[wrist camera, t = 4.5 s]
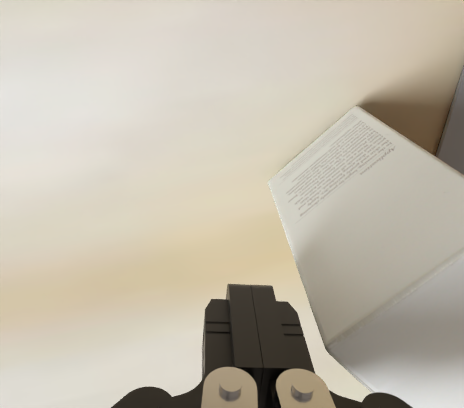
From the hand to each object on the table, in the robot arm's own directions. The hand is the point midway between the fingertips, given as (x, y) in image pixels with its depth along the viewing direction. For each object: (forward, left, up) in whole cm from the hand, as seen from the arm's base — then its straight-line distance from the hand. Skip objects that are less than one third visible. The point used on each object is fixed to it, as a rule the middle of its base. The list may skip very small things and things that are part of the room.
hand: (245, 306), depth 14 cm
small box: (0, +6, -11) cm, 13 cm away
